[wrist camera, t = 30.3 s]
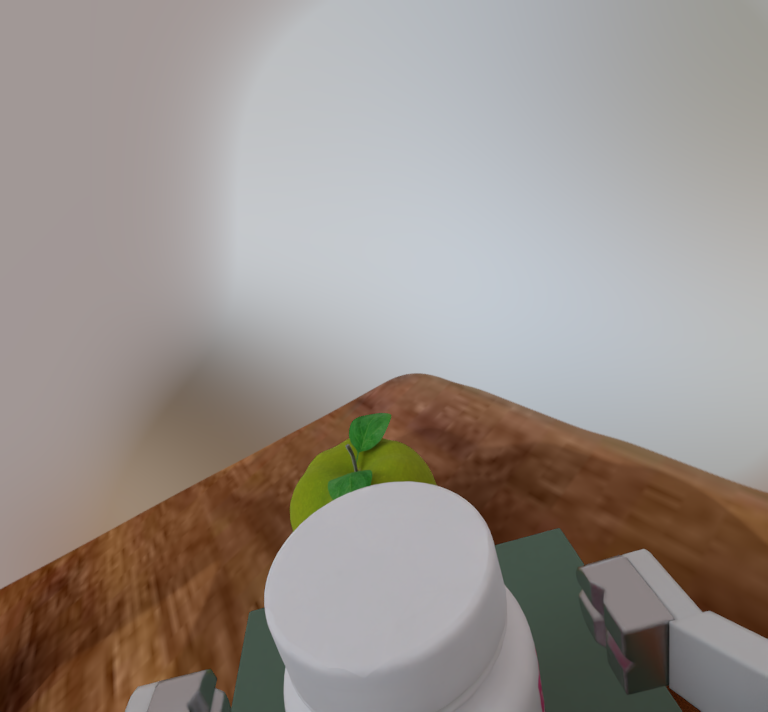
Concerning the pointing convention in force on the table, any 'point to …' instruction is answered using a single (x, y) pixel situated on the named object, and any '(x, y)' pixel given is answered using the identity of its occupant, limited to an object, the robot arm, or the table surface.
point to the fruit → (356, 467)
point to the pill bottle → (399, 609)
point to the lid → (547, 625)
